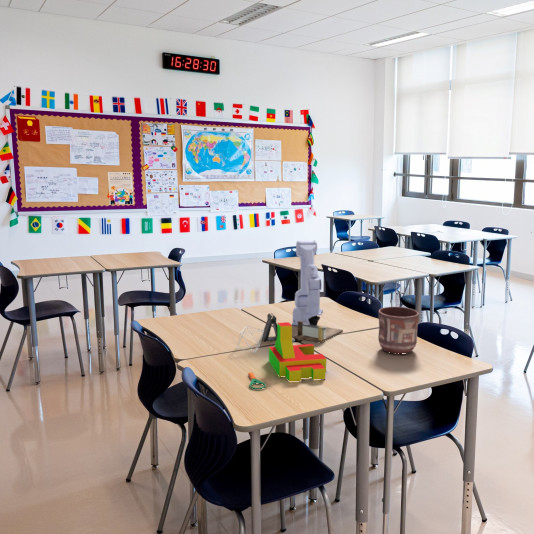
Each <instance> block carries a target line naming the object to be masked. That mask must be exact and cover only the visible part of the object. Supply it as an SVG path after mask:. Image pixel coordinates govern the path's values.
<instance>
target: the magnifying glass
mask: <svg viewBox="0 0 534 534" xmlns="http://www.w3.org/2000/svg"><path fill="white" fill-rule="evenodd" d="M248 376H249V379H250V380H252V381H250V383H249V386H250V387H251V388H253V389H262V388H265V389H266V387H267V386H266V383H265V382H263V381H262V380H260V379H257V378H256V376H255V374H254V373H253V372H249V373H248ZM256 383H259V384H258V385H260V384H263V385H264V386H263V385H262V386H261V387H254V386H253V385H252V384H255V385H257V384H256ZM251 385H252V386H251ZM250 387H249V388H250ZM251 388H250V389H251ZM253 389H252V390H253Z"/></svg>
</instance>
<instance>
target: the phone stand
mask: <svg viewBox="0 0 534 534" xmlns="http://www.w3.org/2000/svg"><path fill="white" fill-rule="evenodd" d="M277 323H278V322H277V317H276V316H275V315H274V313H272V312H271V313H268V314H267V319H266V322H265V325H264V328H263V330H264V333H263V332H262V333H263V336H262V337H261V336H260V338H262V341H263V342H265V343H266V341H270V342H276V340H277ZM272 327H273V331H274V334H275V336H270V334H271V330H272Z"/></svg>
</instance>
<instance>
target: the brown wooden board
mask: <svg viewBox="0 0 534 534" xmlns="http://www.w3.org/2000/svg"><path fill="white" fill-rule="evenodd" d="M302 324H303V321H298V326H297V333H296V334H294V335H292V339H293V338H294V339H297V338H300V339H299V340H302V339H305V340H304V341H307V340H310V341H309V342H312V341H314V342H313V343H317V342H320V343H319V344H322V343H324V342H326V341H328V340H330V339H332V338H333V336H334V337H336V336H338V335H340V334H342V333H343V332H344V330H343V329H340V328H334V327H328V326H322V325H321V326H322V327H326V339H322V341H320V340H318V338H315V337H310V336H305V335H302V331H303V326H302ZM317 326H319V325H318V324H317ZM341 332H342V333H341ZM339 333H340V334H339ZM335 335H336V336H335ZM331 337H332V338H331ZM329 338H330V339H329ZM327 339H328V340H327ZM325 340H326V341H325ZM323 341H324V342H323Z"/></svg>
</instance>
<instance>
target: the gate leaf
mask: <svg viewBox="0 0 534 534" xmlns="http://www.w3.org/2000/svg"><path fill="white" fill-rule="evenodd" d="M302 326H303V331H302V335H305V336H310V337H315V338H318V327H319V326H321V327H322V325H318V326H316V325H311V324H306V323H304V324H302ZM326 327H327V326H324V327H323V335H322V339H326Z"/></svg>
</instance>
